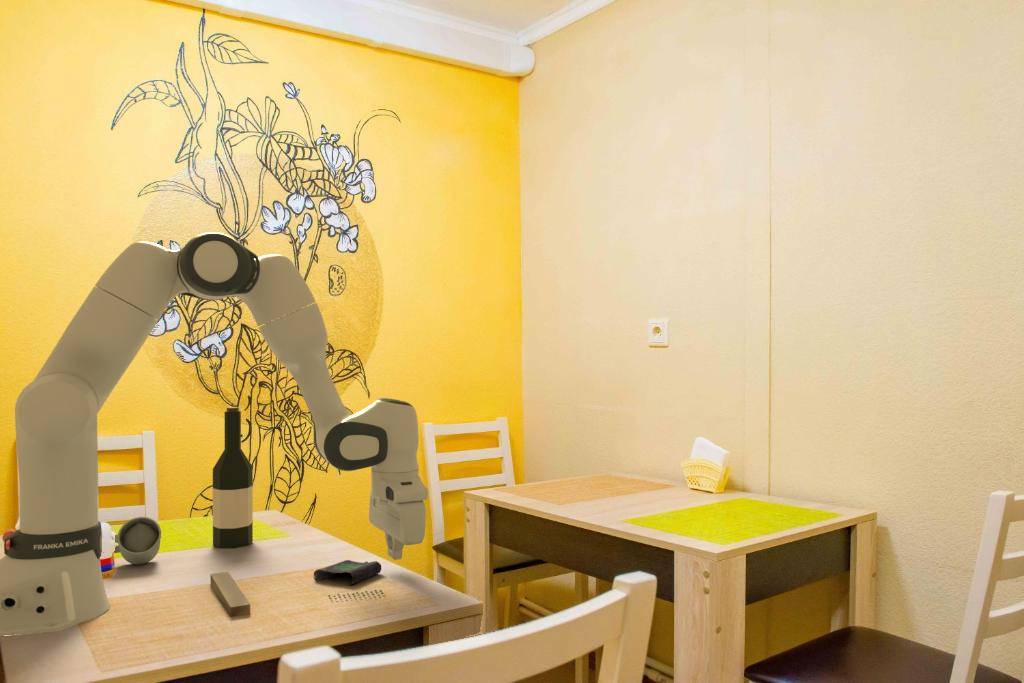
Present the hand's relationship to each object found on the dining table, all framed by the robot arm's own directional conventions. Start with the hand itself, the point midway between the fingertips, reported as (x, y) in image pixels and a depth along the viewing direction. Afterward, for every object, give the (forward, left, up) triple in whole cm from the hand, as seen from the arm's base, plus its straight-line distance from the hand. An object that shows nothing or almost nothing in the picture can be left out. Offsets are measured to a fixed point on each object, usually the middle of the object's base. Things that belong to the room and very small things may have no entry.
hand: (394, 557), depth 149 cm
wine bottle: (-22, +42, -4) cm, 48 cm away
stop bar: (-30, 0, -4) cm, 30 cm away
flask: (-11, 0, -5) cm, 12 cm away
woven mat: (-11, -12, -5) cm, 17 cm away
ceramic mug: (-43, +33, -4) cm, 54 cm away
